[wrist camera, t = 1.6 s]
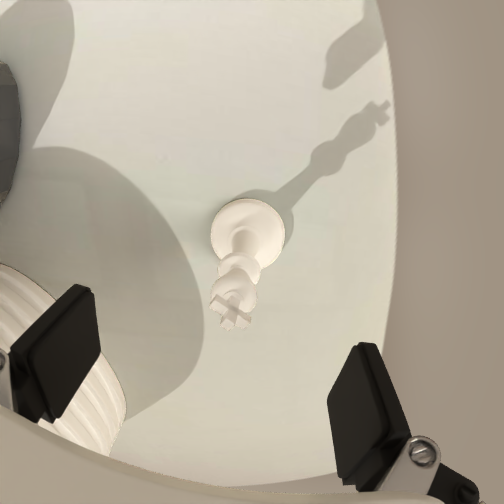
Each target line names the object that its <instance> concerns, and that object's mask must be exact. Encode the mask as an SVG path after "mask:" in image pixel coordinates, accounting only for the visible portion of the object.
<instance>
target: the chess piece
mask: <svg viewBox="0 0 504 504" xmlns="http://www.w3.org/2000/svg"><path fill="white" fill-rule="evenodd" d="M284 240H285V229H284V224H283V222H282V220H281V218H280V216H279V214H278V213H277V212H276V211H275V210H274V209H273V208H272V207H271V206H269V205H268V204H266V203H264V202H262V201H259V200H256V199H239V200H235V201H232V202H230V203H228V204H227V205H225V206H224V207H223V208H222V209H221V210H220V211H219V212H218V213H217V215H216V216H215V218H214V220H213V223H212V228H211V243H212V246H213V249H214V251H215V253H216V254H217V256H218V257H219V258H220V259H221V261H220V263H219V266H218V274H219V279H218V280H217V281H216V282H215V283H214V284H213V286H212V289H211V302H210V305H209V308H211V309H212V310H214V311H215V312H217V313H218V314H220V315H221V316H222V318H221V322H220V326H221V327H223V328H224V329H226V330H228V331H230V330H231V329H232V328H233V327H234V326H235V325H237V326H238V327H240V328H242V329H243V330H244V329H245V328H246V327H247V326H248V325H249V324H250V323H251V316H249V315H247V313H249V312H250V311H251V310H252V309H253V308H254V307H255V305H256V302H257V291H256V288H255V285H256V284H257V282H258V281H259V279H260V276H261V269H262V268H265V267H267V266H268V265H270V264H271V263H272V262H273V261H275V259H276V258H277V257H278V256H279V254H280V252H281V250H282V248H283V244H284Z"/></svg>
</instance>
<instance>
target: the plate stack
mask: <svg viewBox="0 0 504 504" xmlns="http://www.w3.org/2000/svg"><path fill="white" fill-rule="evenodd" d="M54 302H56V300H54V299H53V298H52V297H51V296H50V295H49V294H48V293H47V292H46V291H44V290H43V289H42V288H41V287H40V286H38V285H37V284H36V283H34V282H33V281H32V280H30V279H29V278H27V277H26V276H25V275H23V274H21V273H20V272H18V271H16V270H14V269H12V268H10V267H8V266H6V265H3V264H0V348H1V349H3V350H4V351H5V352H6V353H7V354H8V353H9V352H10V351H11V350H10V347H11V346H12V344H13V343H14V342H15V341H16V340H17V339H18V338H19V337H20V336H21V335H22V334H23V333H24V332H25V331H26V330H27V329H28V328H29V327H30V326H31V325H32V324H33V323H34V322H35V321H36V320H37V319H38V318H39V317H40V316H41V315H42V314H43V313H44V312H45V311H46V310H47V309H48V308H49V307H50V306H51V305H52V304H53V303H54ZM125 415H126V402H125V397H124V394H123V391H122V388H121V386H120V383H119V381H118V379H117V377H116V375H115V373H114V372H113V370H112V368H111V367H110V365H109V363H108V362H107V360H106V359H105V357H104V356H103V354H102V353H101V352H100V356H99V358H98V359H97V361H96V362H95V364H94V365H93V367H92V368H91V370H90V371H89V373H88V374H87V376H86V378H85V379H84V381H83V382H82V384H81V385H80V387H79V389H78V390H77V392H76V393H75V395H74V397H73V398H72V400H71V402H70V403H69V405H68V406H67V408H66V410H65V411H64V413H63V415H62V416H61V418H59V419H57V418H56V420H55V422H54V423H53V424H51V423H49V422H47V421H45V420H43V419H40V420H39V422H38V425H39V426H41V427H42V428H44V429H46V430H48V431H50V432H52V433H54V434H57V435H59V436H61V437H63V438H65V439H67V440H69V441H71V442H73V443H76V444H78V445H80V446H82V447H85V448H87V449H89V450H92V451H94V452H97V453H99V454H102V455H104V456H107V457H108V456H109V454H110V451H111V448H112V445H113V443H114V442H115V439H116V437H117V435H118V432H119V429H120V427H121V426H122V423H123V421H124V419H125Z"/></svg>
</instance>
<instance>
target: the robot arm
mask: <svg viewBox="0 0 504 504" xmlns="http://www.w3.org/2000/svg"><path fill="white" fill-rule="evenodd" d="M10 350H11V351H10V352H9V353H8V354H7V353H6V352H5V351H4V350H3V349H1V348H0V504H486V503H485V502H484V501H481V502H480V503H479V491H478V488H477V486H476V485H475V483H473V482H472V481H471V480H469V479H467V478H465V477H464V476H462V475H460V474H459V473H457V472H455V471H453V470H452V469H450V468H448V467H447V466H445V465H443V464H442V463H440V461H441V452H440V449H439V447H438V445H437V444H436V443H435V442H434V441H433V440H431V439H430V438H428V437H425V436H414V437H412V435H411V433H410V429H409V426H408V423H407V421H406V418H405V415H404V412H403V410H402V407H401V404H400V402H399V399H398V397H397V394H396V392H395V389H394V387H393V384H392V382H391V379H390V376H389V374H388V372H387V369H386V367H385V364H384V362H383V360H382V357H381V355H380V352H379V350H378V348H377V346H376V344H374V343H366V342H359V343H358V345H357V346H356V345H355V346H353V348H352V349H351V351H350V354H349V356H348V358H347V360H346V362H345V364H344V366H343V368H342V370H341V372H340V374H339V376H338V378H337V380H336V381H335V383H334V385H333V387H332V389H331V391H330V393H329V395H328V398H327V406H328V412H329V419H330V425H331V432H332V438H333V445H334V452H335V459H336V466H337V474H338V477H339V478H342V481H343V485H356V490H357V491H356V493H338V494H291V493H272V492H259V491H250V490H241V489H234V488H227V487H220V486H214V485H208V484H203V483H198V482H193V481H188V480H184V479H179V478H175V477H171V476H167V475H163V474H160V473H156V472H152V471H149V470H146V469H142V468H139V467H136V466H133V465H130V464H127V463H124V462H121V461H118V460H115V459H112V458H110V457H107V456H104V455H102V454H99V453H97V452H94V451H92V450H89V449H87V448H85V447H82V446H80V445H78V444H76V443H73V442H71V441H69V440H67V439H65V438H63V437H61V436H59V435H57V434H54V433H52V432H50V431H48V430H46V429H44V428H42V427H41V426H39V425H38V422H39V420H40V419H43V420H45V421H47V422H49V423H51V424H53V423H54V422H55V420H56V418H57V419H59V418H61V416H62V415H63V413H64V411H65V410H66V408H67V406H68V405H69V403H70V402H71V400H72V398H73V397H74V395H75V393H76V392H77V390H78V389H79V387H80V385H81V384H82V382H83V381H84V379H85V378H86V376H87V374H88V373H89V371H90V370H91V368H92V367H93V365H94V364H95V362H96V361H97V359H98V358H99V356H100V352H101V347H100V340H99V333H98V325H97V317H96V308H95V298H94V294H93V293H92V292H91V290H90V288H89V287H85V286H82V285H79V284H74V285H73V286H72V287H71V288H70V289H68V290H67V291H66V292H65V293H64V294H63V295H62V296H61V297H60V298H59V299H58V300H57V301H56V302H54V303H53V304H52V305H51V306H50V307H49V308H48V309H47V310H46V311H45V312H44V313H43V314H42V315H41V316H40V317H39V318H38V319H37V320H36V321H35V322H34V323H33V324H32V325H31V326H30V327H29V328H28V329H27V330H26V331H25V332H24V333H23V334H22V335H21V336H20V337H19V338H18V339H17V340H16V341H15V342H14V343H13V344H12V346H11V347H10Z"/></svg>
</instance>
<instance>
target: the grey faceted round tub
mask: <svg viewBox="0 0 504 504" xmlns="http://www.w3.org/2000/svg"><path fill="white" fill-rule="evenodd" d="M20 123H21V115H20V108H19V100H18V90H17V84H16V82H15V80H14V78H13V76H12V74H11V72H10V70H9V67H8V65H7V64H5V63H3V62H1V61H0V206H1V204H2V203H3V201H4V199H5V197H6V196H7V194H8V192H9V190H10V188H11V183H12V179H13V175H14V171H15V167H16V163H17V159H18V153H19V135H20Z"/></svg>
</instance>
